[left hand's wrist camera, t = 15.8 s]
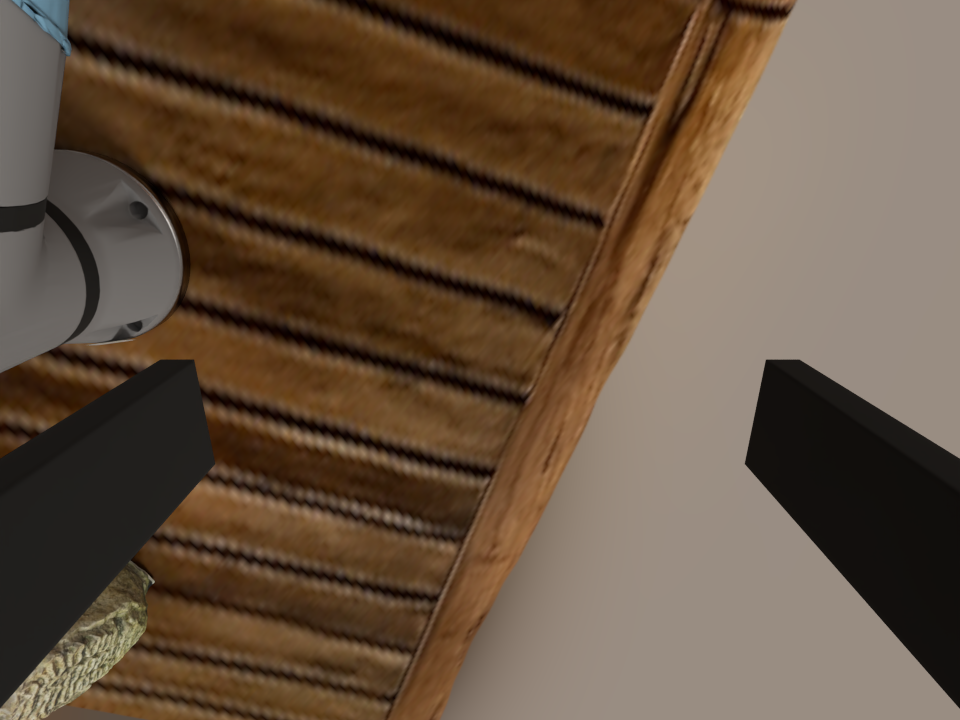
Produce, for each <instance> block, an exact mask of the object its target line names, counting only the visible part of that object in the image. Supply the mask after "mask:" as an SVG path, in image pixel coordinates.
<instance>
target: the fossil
mask: <svg viewBox="0 0 960 720" xmlns="http://www.w3.org/2000/svg"><path fill="white" fill-rule="evenodd" d="M154 582H155V581H154V580H153V579H152V578H151V577H150V576H149V575H148V574H147V573H146V572H145V571H144V570H142V569H141V568H139V567H138V566H137V565H136V564H134V563H133V562H132V561H131V560H130V561H129V563H128V564H127V565H126V566H125V567H124V568H123V569H122V571H121V572H120V573H119V574H118V575H117V576H116V577H115V578H114V580H113V581H112V582H111V583H110V584H109V585H108V586H107V588H106V589H105V590H104V591H103V592H102V593H101V594H100V596H99V597H98V598H97V599H96V600H95V601H94V602H93V604H92V605H91V606H90V607H89V608H88V609H87V610H86V611H85V613H84V614H83V615H82V616H81V617H80V618H79V619H78V621H77V622H76V623H75V624H74V625H73V626H72V627H71V629H70V630H69V631H68V632H67V633H66V634H65V635H64V637H63V638H62V639H61V640H60V641H59V642H58V643H57V644H56V646H55V647H54V648H53V649H52V650H51V651H50V652H49V654H48V655H47V656H46V657H45V658H44V659H43V660H42V662H41V663H40V664H39V665H38V666H37V667H36V668H35V670H34V671H33V672H32V673H31V674H30V675H29V676H28V678H27V679H26V680H25V681H24V682H23V683H22V684H21V685H20V687H19V688H18V689H17V690H16V691H15V692H14V693H13V695H12V696H11V697H10V698H9V699H8V700H7V701H6V703H5V704H4V705H3V706H2V707H1V708H0V720H42V719H43V718H45V717H47V716H49V715H50V713H51V712H52V711H55V710H57V709H58V708H60V707H62V706H64V705H66V704H68V703H70V702H72V701H73V700H75V699H76V698H77V697H79V696H80V695H81V694H83V693H84V692H85V691H87V690H88V689H89V688H90V687H91V684H92V683H93V682H95V681H97V680H98V679H100V678H101V677H103V676H104V675H105V674H106V673H108V671H109V670H110V669H111V668H112V667H113V665H114V664H116V663H117V662H119V661H120V659H121V658H122V657H123V656H124V655H125V653H126V652H127V651H128V650H129V649H130V648H131V647H132V646H133V645H134V644H135V643H136V642H137V641H138V639H139V638H140V636H141V635H142V634H143V633H144V631H145V629H146V624H147V618H148V616H147V606H148V604H147V601H146V598H145V595H146V593H147V591H148V589H149V587H150V586H151V585H152V584H153V583H154Z"/></svg>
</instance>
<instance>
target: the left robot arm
mask: <svg viewBox="0 0 960 720" xmlns="http://www.w3.org/2000/svg"><path fill="white" fill-rule="evenodd" d="M68 14H69V0H0V373H1V372H3V371H5V370H7V369H10V368H12V367H14V366H16V365H18V364H20V363H23V362H25V361H27V360H29V359H31V358H33V357H36V356H38V355H40V354H42V353H44V352H46V351H49V350H51V349H53V348H55V347H57V346H60V345H62V344H69V343H98V344H91V345H103V344H110V343H117V342H124V341H131V340H127V339H131V338H134V337H137V336H139V335H142V334H144V333H146V332H148V331H150V330H152V329H154V328H155V327H157V326H159V325H161V324H162V323H163V322H165V321H166V320H167V319H168V318H169V317H170V316H172V314H173V313H174V312H175V311H176V310H177V308H178V307H179V305H180V304H181V302H182V300H183V298H184V296H185V293H186V290H187V287H188V283H189V277H190V254H189V249H188V244H187V240H186V237H185V234H184V231H183V229H182V226H181V224H180V222H179V220H178V218H177V216H176V214H175V213H174V211H173V209H172V208H171V206H170V205H169V204H168V202H167V201H166V199H165V198H164V197H163V196H162V195H161V193H160V192H159V191H158V190H157V189H156V188H155V187H154V186H153V185H152V184H151V183H150V182H149V181H147V180H146V179H145V178H144V177H143V176H141V175H140V174H139V173H137V172H136V171H134V170H133V169H131V168H130V167H128V166H127V165H125V164H123V163H121V162H119V161H117V160H114V159H112V158H110V157H107V156H104V155H101V154H98V153H93V152H89V151H81V150H54V146H55V138H56V130H57V122H58V114H59V107H60V99H61V91H62V83H63V75H64V68H65V60H66V56H70V53H71V44H70V42H69V41H68V39H67V30H68ZM214 465H215V461H214V456H213V451H212V446H211V441H210V436H209V431H208V426H207V421H206V416H205V411H204V407H203V402H202V397H201V392H200V387H199V382H198V377H197V372H196V367H195V362H194V360H159V361H158V362H156V363H154V364H153V365H151V366H150V367H148V368H146V369H145V370H143V371H141V372H140V373H138V374H137V375H135V376H133V377H132V378H130V379H129V380H127V381H125V382H124V383H122V384H120V385H119V386H117V387H116V388H114V389H112V390H111V391H109V392H107V393H106V394H104V395H103V396H101V397H99V398H98V399H96V400H95V401H93V402H91V403H90V404H88V405H86V406H85V407H83V408H82V409H80V410H78V411H77V412H75V413H73V414H72V415H70V416H69V417H67V418H65V419H64V420H62V421H61V422H59V423H57V424H56V425H54V426H52V427H51V428H49V429H48V430H46V431H44V432H43V433H41V434H39V435H38V436H36V437H35V438H33V439H31V440H30V441H28V442H27V443H25V444H23V445H22V446H20V447H18V448H17V449H15V450H14V451H12V452H10V453H9V454H7V455H5V456H4V457H2V458H1V459H0V708H1V707H2V706H3V705H4V704H5V703H6V701H7V700H8V699H9V698H10V697H11V696H12V695H13V693H14V692H15V691H16V690H17V689H18V688H19V687H20V685H21V684H22V683H23V682H24V681H25V680H26V679H27V678H28V676H29V675H30V674H31V673H32V672H33V671H34V670H35V668H36V667H37V666H38V665H39V664H40V663H41V662H42V660H43V659H44V658H45V657H46V656H47V655H48V654H49V652H50V651H51V650H52V649H53V648H54V647H55V646H56V644H57V643H58V642H59V641H60V640H61V639H62V638H63V637H64V635H65V634H66V633H67V632H68V631H69V630H70V629H71V627H72V626H73V625H74V624H75V623H76V622H77V621H78V619H79V618H80V617H81V616H82V615H83V614H84V613H85V611H86V610H87V609H88V608H89V607H90V606H91V605H92V604H93V602H94V601H95V600H96V599H97V598H98V597H99V596H100V594H101V593H102V592H103V591H104V590H105V589H106V588H107V586H108V585H109V584H110V583H111V582H112V581H113V580H114V578H115V577H116V576H117V575H118V574H119V573H120V572H121V571H122V569H123V568H124V567H125V566H126V565H127V564H128V563H129V561H130V560H131V559H132V558H133V557H134V556H135V555H136V553H137V552H138V551H139V550H140V549H141V548H142V547H143V545H144V544H145V543H146V542H147V541H148V540H149V539H150V538H151V536H152V535H153V534H154V533H155V532H156V531H157V530H158V528H159V527H160V526H161V525H162V524H163V523H164V522H165V520H166V519H167V518H168V517H169V516H170V515H171V514H172V512H173V511H174V510H175V509H176V508H177V507H178V506H179V504H180V503H181V502H182V501H183V500H184V499H185V498H186V497H187V495H188V494H189V493H190V492H191V491H192V490H193V489H194V487H195V486H196V485H197V484H198V483H199V482H200V481H201V479H202V478H203V477H204V476H205V475H206V474H207V473H208V471H209V470H210V469H211V468H212V467H213V466H214ZM745 465H746V466H747V467H748V468H749V469H750V470H751V471H752V473H753V474H754V475H755V476H756V477H757V478H758V479H759V481H760V482H761V483H762V484H763V485H764V486H765V487H766V488H767V490H768V491H769V492H770V493H771V494H772V495H773V497H774V498H775V499H776V500H777V501H778V502H779V503H780V504H781V506H782V507H783V508H784V509H785V510H786V511H787V512H788V514H789V515H790V516H791V517H792V518H793V519H794V520H795V522H796V523H797V524H798V525H799V526H800V527H801V528H802V530H803V531H804V532H805V533H806V534H807V535H808V536H809V537H810V539H811V540H812V541H813V542H814V543H815V544H816V545H817V547H818V548H819V549H820V550H821V551H822V552H823V553H824V555H825V556H826V557H827V558H828V559H829V560H830V561H831V562H832V564H833V565H834V566H835V567H836V568H837V569H838V571H839V572H840V573H841V574H842V575H843V576H844V577H845V578H846V580H847V581H848V582H849V583H850V584H851V585H852V586H853V588H854V589H855V590H856V591H857V592H858V593H859V594H860V596H861V597H862V598H863V599H864V600H865V601H866V602H867V603H868V605H869V606H870V607H871V608H872V609H873V610H874V611H875V613H876V614H877V615H878V616H879V617H880V618H881V619H882V621H883V622H884V623H885V624H886V625H887V626H888V627H889V629H890V630H891V631H892V632H893V633H894V634H895V635H896V637H897V638H898V639H899V640H900V641H901V642H902V643H903V645H904V646H905V647H906V648H907V649H908V650H909V651H910V652H911V654H912V655H913V656H914V657H915V658H916V659H917V660H918V662H919V663H920V664H921V665H922V666H923V667H924V668H925V670H926V671H927V672H928V673H929V674H930V675H931V676H932V677H933V679H934V680H935V681H936V682H937V683H938V684H939V685H940V687H941V688H942V689H943V690H944V691H945V692H946V693H947V695H948V696H949V697H950V698H951V699H952V700H953V701H954V703H955V704H956V705H957V706H958V707H959V708H960V459H959V458H958V457H956V456H955V455H953V454H951V453H950V452H948V451H946V450H945V449H943V448H942V447H940V446H938V445H937V444H935V443H933V442H932V441H930V440H929V439H927V438H925V437H924V436H922V435H921V434H919V433H917V432H916V431H914V430H912V429H911V428H909V427H908V426H906V425H904V424H903V423H901V422H899V421H898V420H896V419H895V418H893V417H891V416H890V415H888V414H887V413H885V412H883V411H882V410H880V409H878V408H877V407H875V406H874V405H872V404H870V403H869V402H867V401H865V400H864V399H862V398H861V397H859V396H857V395H856V394H854V393H852V392H851V391H849V390H848V389H846V388H844V387H843V386H841V385H840V384H838V383H836V382H835V381H833V380H831V379H830V378H828V377H827V376H825V375H823V374H822V373H820V372H818V371H817V370H815V369H814V368H812V367H810V366H809V365H807V364H806V363H804V362H802V361H801V360H766V362H765V367H764V372H763V377H762V382H761V387H760V392H759V397H758V402H757V407H756V412H755V416H754V421H753V427H752V431H751V436H750V441H749V446H748V451H747V456H746V461H745Z"/></svg>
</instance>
